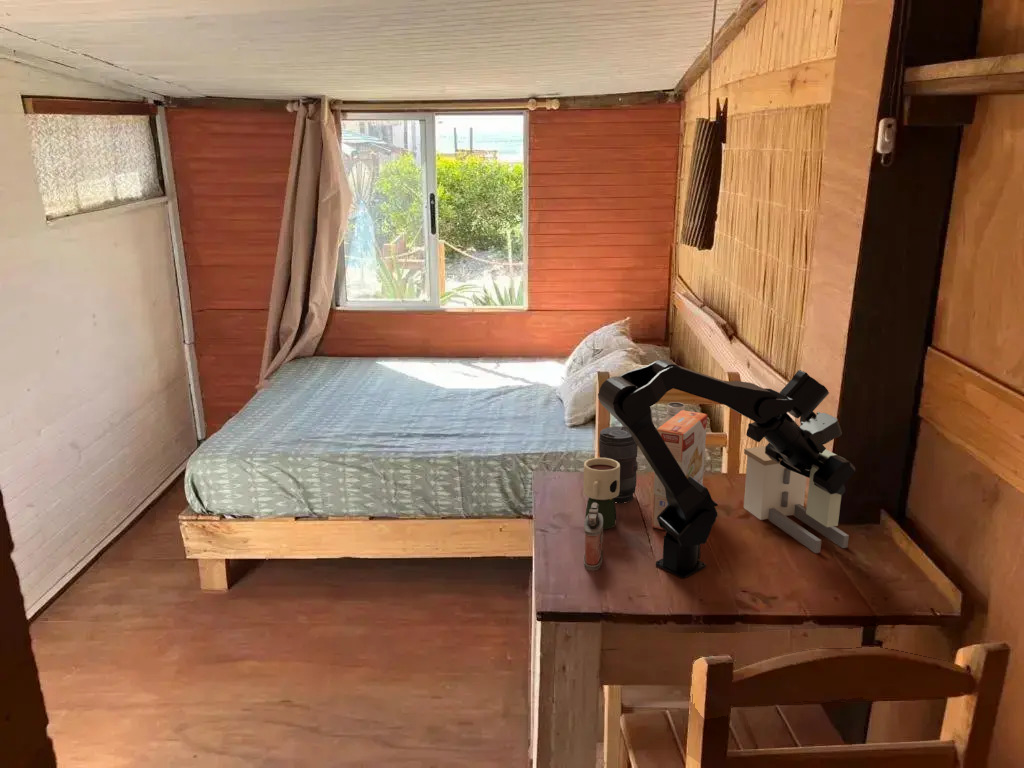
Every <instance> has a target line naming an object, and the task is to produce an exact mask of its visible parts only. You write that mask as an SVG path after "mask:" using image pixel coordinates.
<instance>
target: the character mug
mask: <svg viewBox="0 0 1024 768" xmlns="http://www.w3.org/2000/svg"><path fill="white" fill-rule="evenodd" d="M619 491H620V463H618V462H617V461H615V460H613V459H609V458H600V457H594V458H589V459H587V460H585V461H584V462H583V495H585V497H587V498H588V499H587V504H586V509H585V516H584V519H585V518H586V516H587V515H588V514H589V509H591V505H592V504H593V503H597V504H598V513H600V514H602V516H603V530H605V529H611V528H614V527H615V526H616V524H617V523H618V521H617V520H618V519H617V509H616V503H615V502H614V499H613V498H615V497H617V496H618V495H619Z"/></svg>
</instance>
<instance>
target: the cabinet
mask: <svg viewBox="0 0 1024 768" xmlns="http://www.w3.org/2000/svg"><path fill="white" fill-rule="evenodd" d="M766 446H767V445H763V446H755V447H748V448H743V449H744V450H743V454H744V455H746V456H747V457H746V468H745V469H746V470H745V471H746V472H745V485H744V498H743V509H745V510H746V511H747V512H749V513H750V514H751V515H752V516H754V517H755V518H757V519H758V520H760V521H763V520H768V521H769V522H770V523H771V524H773V525H775V526H777V528H779V529H780V530H782V531H783V532H784V533H786V535H789V536H790V537H791V538H793V539H795V540H796V541H797V542H799V543H800V544H801V545H803V546H805V548H807V549H808V550H810V551H812V552H813V553H814V554H819V553H821V546H822V539H821V538H819V537H818V536H816V535H814V534H813V533H811V532H809V530H807V529H805V528H804V527H802V526H801V525H800V524H798V523H797V522H795V521H794V520H792V519H791V518H789V517H788V516H794V517H795V518H796V519H798V520H800V521H801V522H802V523H804V524H805V525H807V526H809V527H810V528H812V529H813V530H815V531H816V532H817V533H819V534H821V535H822V536H823V537H825V538H826V539H828V540H829V541H831V542H833V543H834V544H836V545H837V546H839V547H840V548H841V549H846V548H848V546H849V536H850V535H849V534H847V533H846V532H844V531H843V530H841V529H840V528H838V527H837V526H831V527H826V526H824V525H823V524H821V523H820V522H818V521H816V520H815V519H813V518H812V517H810V516H809V515H807V514H806V509H807V507H805V497H806V487H807V486H806V485H807V477H806V476H803V475H801V474H798V473H796V472H793V471H791V470H788V469H787V468H785V467H783V466H782V465H780V462H779V463H777V462H775V461H774V460H772V459H770V458H769V457H768V456H767V455H766V454H765V448H766ZM780 461H781V459H780Z"/></svg>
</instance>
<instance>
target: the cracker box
mask: <svg viewBox="0 0 1024 768" xmlns="http://www.w3.org/2000/svg"><path fill="white" fill-rule="evenodd" d="M707 425H708V414H707V413H703V412H698V411H697V412H696V411H689V410H685V409H684V410H681V411H680V412H679V413H677V414H676V415H675V416H673V417H672V418H671V419H669V420H668V421H667V422H666V423H664V424H663V425H662V426H661V425H659V427H658V428H656V429H657V431H658V432H659V434H660V435H661V437H662V439H663V440H664V442H665V443H666V445H667V447H668V448H669V450H670V451H671V453H672V455H673V456H674V458H675V459H676V461H677V463H678V464H679V466H680V467H681V469H682V471H683V472H684V474H685V475H686V477H687V478H688V477H689V476H691V477H693V478H694V479H695V480H697V481H698V482H699V483H701V484H702V485H703V483H704V482H703V481H704V469H705V467H704V466H705V456H706V455H705V454H706V441H707V440H706V438H707ZM653 482H654V483H653V498H652V517H651V518H652V519H651V527H652V528H656V529H659V530H664V529H663V528H661V527H660V526H659V523H658V520H657V516H658V515H659V514H660V513H661V512H662V511H663V510H664V509H665V508H666V507H667V506H668V502H667V499H666V491H665V487H664V486H663V484H662V483H661V481H660V479H659V478H658V476H657V475H656V473H655V472H654V481H653ZM664 531H665V530H664Z"/></svg>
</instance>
